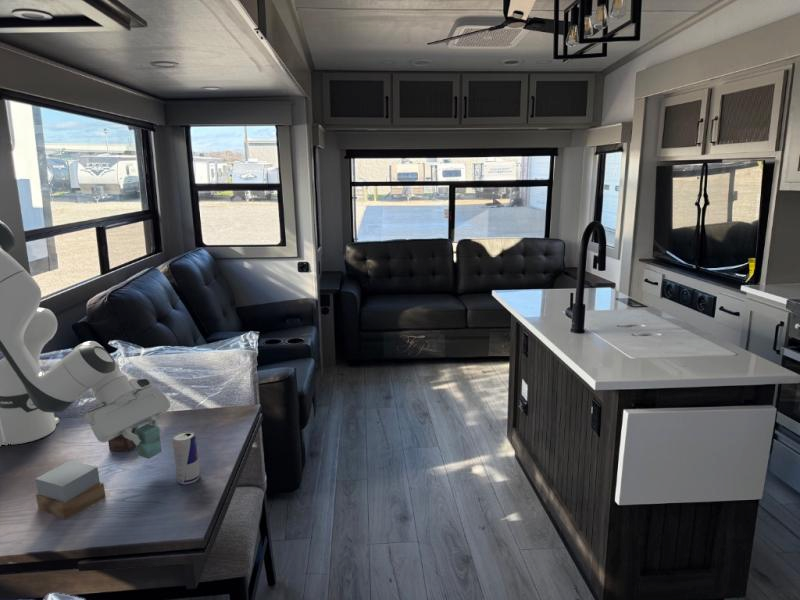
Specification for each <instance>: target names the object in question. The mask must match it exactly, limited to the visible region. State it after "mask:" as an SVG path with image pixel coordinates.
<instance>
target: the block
mask: <svg viewBox="0 0 800 600" xmlns="http://www.w3.org/2000/svg"><path fill="white" fill-rule="evenodd" d="M158 426H159V425H158ZM158 426H154V425H152V424H149V423H146V424H144V425H142V426H139V428H138V429H136V430H134V431H135V435H137V436H138V435H141V436H142V438H143V439H144V441H143V442H142V443H141V444H139V445H136V454H137V457H141V458H144V459H148V460H149V459H151V458H153V457H155V456H157V455H158V454H160V453H161V452H163V451H162V443H161V436H160V434H161V433H160V434H159V428H160V427H158Z"/></svg>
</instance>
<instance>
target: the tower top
mask: <svg viewBox="0 0 800 600" xmlns="http://www.w3.org/2000/svg"><path fill="white" fill-rule="evenodd" d="M98 468H99V467H98V466H95V465H91V464H88V463H83V462H79V461H75V460H73V459H72V460H71V459H69V461H66V462H65V463H63V464H61V465H59V466H57V467H55V468H53V469H51V470H49V471H47V472H45V473H43V474H42V475H40V476H38V477H36V478H35V484H36V490H37V491H36V492H37V493H38V494H39V495H42V496H46V497H49V498H52V499H56V500H59V501H62V502H67V501H69V500H70V499H72V498H74V497H75V496H77V495H79V494H80V493H82V492H84V491H85V490H87V489H89V488H91V487H92V486H94V485H96V484H97V483H99V482H101V481H100V475H99V469H98Z"/></svg>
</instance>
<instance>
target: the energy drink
mask: <svg viewBox="0 0 800 600" xmlns="http://www.w3.org/2000/svg"><path fill="white" fill-rule="evenodd" d="M172 446H173V448H172V449H173V454H174V455H173V456H174V462H175V463H174V465H175V472H176V478H177V482H178V483H179V484H180V485H191V484H194V483H195V482H197V481H199V478H200V477H201V474H200V466H199V465H200V464H199V456H198V455H199V454H198V448H197V436H196V435H195V432H193V431H190V430H185V431H180V432H177V433H176V434H174V435H173V437H172Z"/></svg>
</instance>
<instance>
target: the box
mask: <svg viewBox="0 0 800 600" xmlns="http://www.w3.org/2000/svg"><path fill="white" fill-rule="evenodd" d="M138 428H140V425H139V426H137V427H135V428H133V429H132V433H134V434H135V431H134V430H136V429H138ZM107 444H108V448H109V451H112V452H113V451H114V452H125V453H128V452H130V451H131V450H133V449H134V448H137V446H136V445H135V443H134V442H133V441H132V440H129V439H127V438H125V437H124V436H123V435H122V434H121V435H119V436H117V437H115V438H113V439H111V440H109V441H107Z"/></svg>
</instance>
